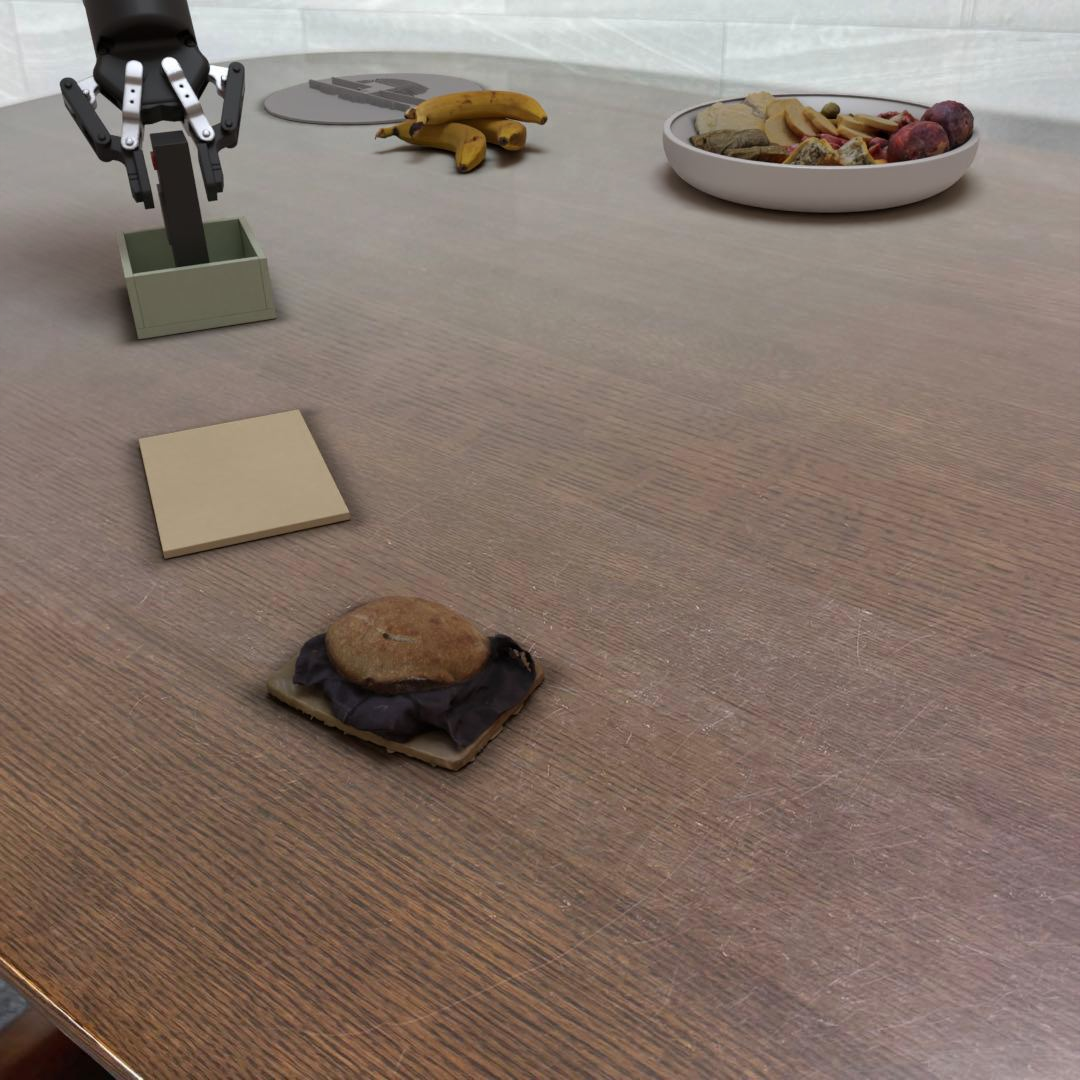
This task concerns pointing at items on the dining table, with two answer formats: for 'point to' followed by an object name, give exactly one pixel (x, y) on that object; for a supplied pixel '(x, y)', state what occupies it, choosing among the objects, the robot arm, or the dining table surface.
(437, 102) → the banana
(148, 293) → the green open box
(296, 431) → the mat
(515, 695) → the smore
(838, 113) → the bowl
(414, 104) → the plate
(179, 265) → the bar
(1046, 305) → the dining table surface
